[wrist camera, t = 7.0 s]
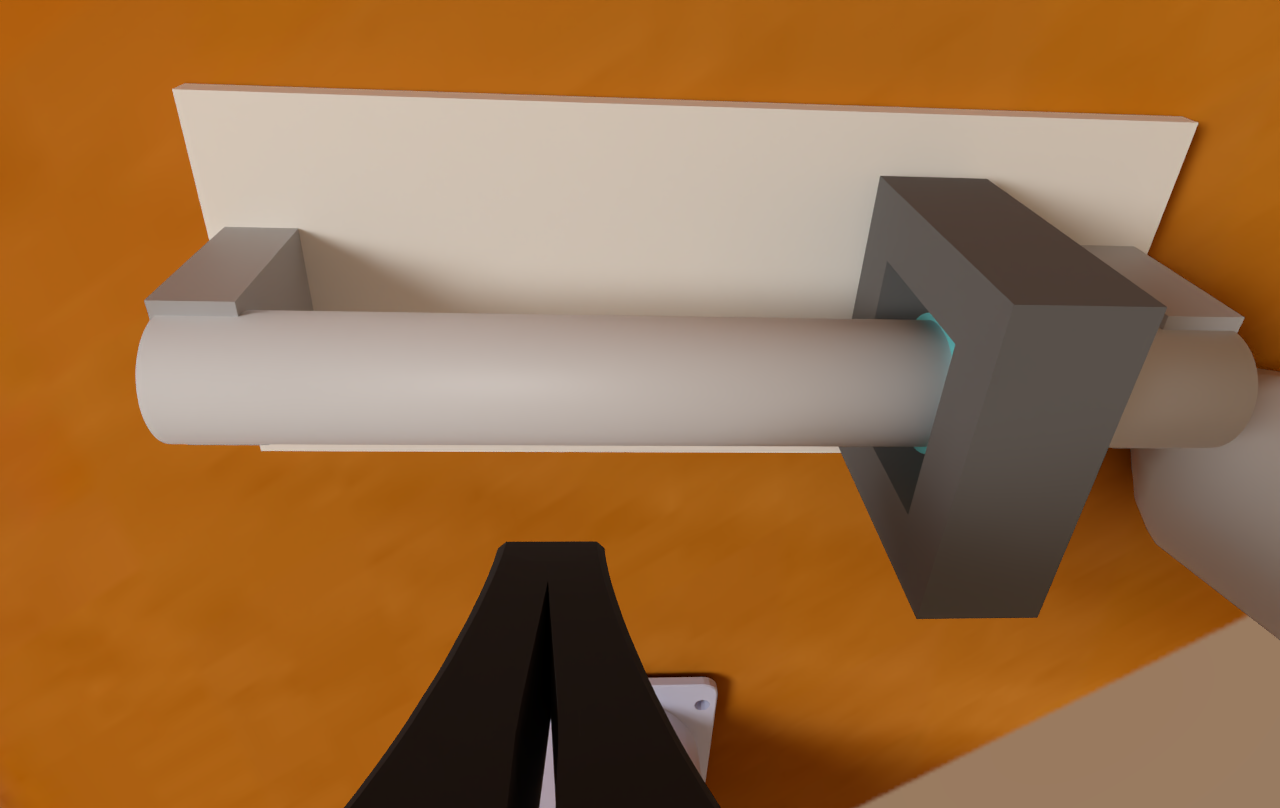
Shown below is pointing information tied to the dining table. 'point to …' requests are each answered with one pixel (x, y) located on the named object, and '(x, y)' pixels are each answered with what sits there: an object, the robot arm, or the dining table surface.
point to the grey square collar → (995, 392)
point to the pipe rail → (620, 272)
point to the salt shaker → (1222, 508)
